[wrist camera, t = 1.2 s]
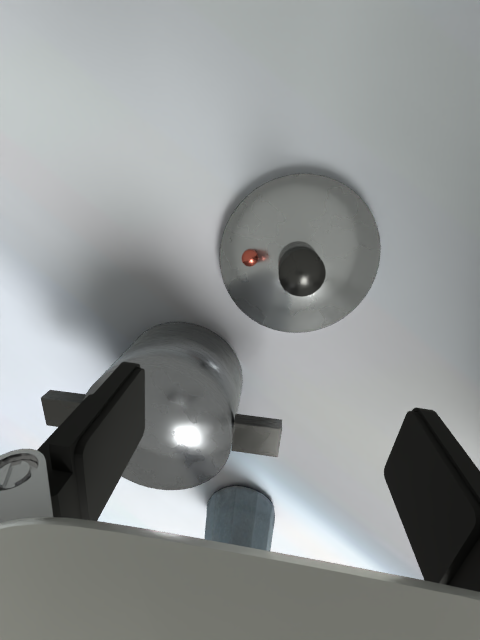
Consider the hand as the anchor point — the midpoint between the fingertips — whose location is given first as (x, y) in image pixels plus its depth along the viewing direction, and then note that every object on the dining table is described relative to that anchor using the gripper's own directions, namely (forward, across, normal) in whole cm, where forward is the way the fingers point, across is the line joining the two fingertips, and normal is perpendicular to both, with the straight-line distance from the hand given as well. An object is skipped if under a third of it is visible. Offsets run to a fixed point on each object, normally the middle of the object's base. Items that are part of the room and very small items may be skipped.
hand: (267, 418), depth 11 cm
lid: (+20, -2, -2) cm, 20 cm away
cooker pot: (+20, +8, +12) cm, 24 cm away
